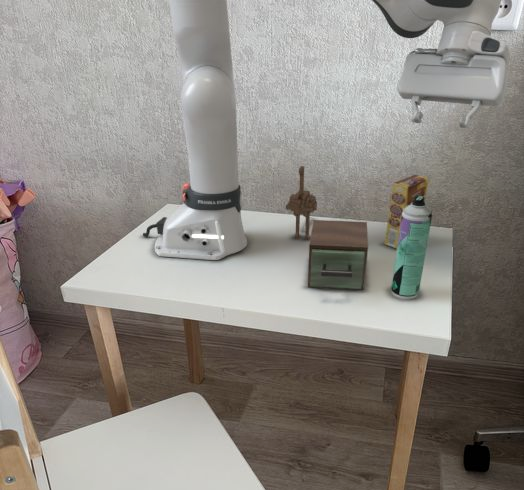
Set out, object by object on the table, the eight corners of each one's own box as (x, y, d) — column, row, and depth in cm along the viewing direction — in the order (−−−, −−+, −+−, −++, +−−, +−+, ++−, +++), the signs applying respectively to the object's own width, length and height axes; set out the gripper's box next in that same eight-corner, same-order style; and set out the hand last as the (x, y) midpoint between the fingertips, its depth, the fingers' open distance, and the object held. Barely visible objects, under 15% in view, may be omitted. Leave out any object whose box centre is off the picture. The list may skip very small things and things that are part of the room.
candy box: (398, 250, 126) (407, 186, 118) (383, 244, 129) (391, 182, 120) (419, 239, 131) (429, 177, 123) (404, 234, 134) (413, 173, 125)
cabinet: (363, 290, 110) (368, 247, 105) (307, 287, 111) (309, 244, 106) (362, 262, 121) (366, 221, 116) (311, 259, 123) (313, 219, 117)
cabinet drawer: (361, 298, 105) (365, 262, 101) (308, 295, 107) (310, 260, 102) (360, 262, 119) (363, 229, 114) (313, 260, 120) (315, 227, 116)
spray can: (416, 287, 111) (432, 192, 99) (420, 300, 106) (437, 202, 95) (389, 286, 111) (402, 192, 100) (392, 299, 107) (406, 201, 95)
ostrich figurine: (311, 245, 129) (314, 170, 119) (284, 242, 131) (285, 168, 121) (324, 220, 143) (328, 151, 132) (300, 218, 144) (302, 149, 134)
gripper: (404, 40, 103) (384, 113, 105) (515, 43, 94) (490, 124, 96) (413, 55, 109) (393, 124, 111) (518, 59, 99) (494, 135, 101)
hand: (439, 124), depth 103 cm, fingers open, 8 cm apart
